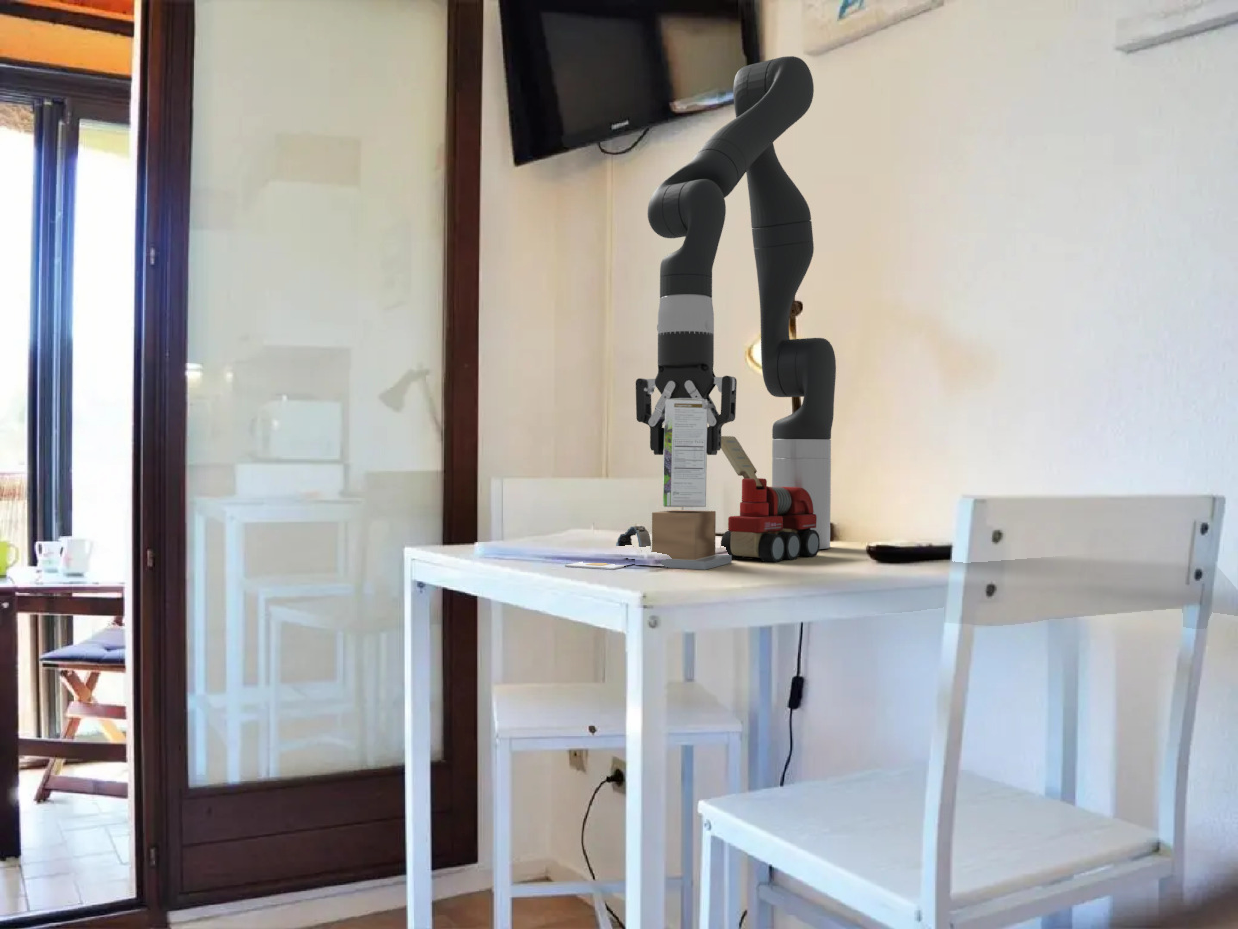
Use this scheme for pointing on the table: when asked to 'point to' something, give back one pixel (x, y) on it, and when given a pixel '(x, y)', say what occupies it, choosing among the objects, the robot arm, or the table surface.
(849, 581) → the table surface
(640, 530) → the wristwatch
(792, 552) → the toy fire truck
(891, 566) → the table surface
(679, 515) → the brick
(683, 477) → the syrup box
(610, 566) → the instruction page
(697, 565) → the plate
